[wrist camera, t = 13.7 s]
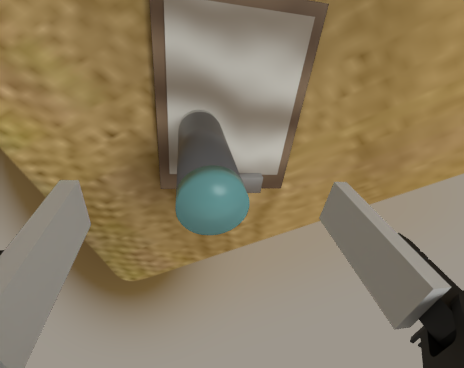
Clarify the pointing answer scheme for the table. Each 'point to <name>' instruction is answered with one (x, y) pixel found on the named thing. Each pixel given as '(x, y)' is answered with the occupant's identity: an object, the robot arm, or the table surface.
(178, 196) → the marker
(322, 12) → the clipboard
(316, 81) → the table surface
